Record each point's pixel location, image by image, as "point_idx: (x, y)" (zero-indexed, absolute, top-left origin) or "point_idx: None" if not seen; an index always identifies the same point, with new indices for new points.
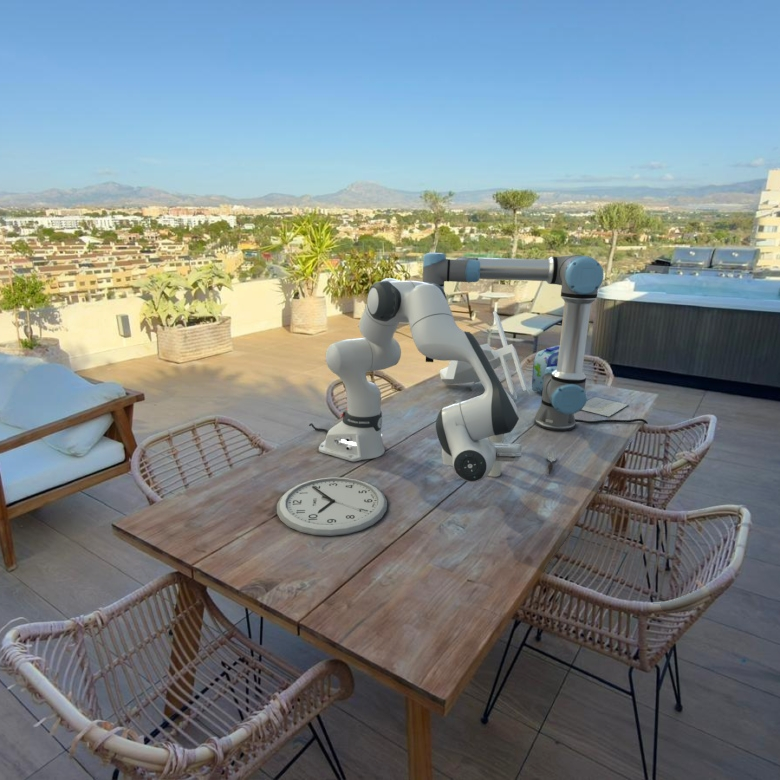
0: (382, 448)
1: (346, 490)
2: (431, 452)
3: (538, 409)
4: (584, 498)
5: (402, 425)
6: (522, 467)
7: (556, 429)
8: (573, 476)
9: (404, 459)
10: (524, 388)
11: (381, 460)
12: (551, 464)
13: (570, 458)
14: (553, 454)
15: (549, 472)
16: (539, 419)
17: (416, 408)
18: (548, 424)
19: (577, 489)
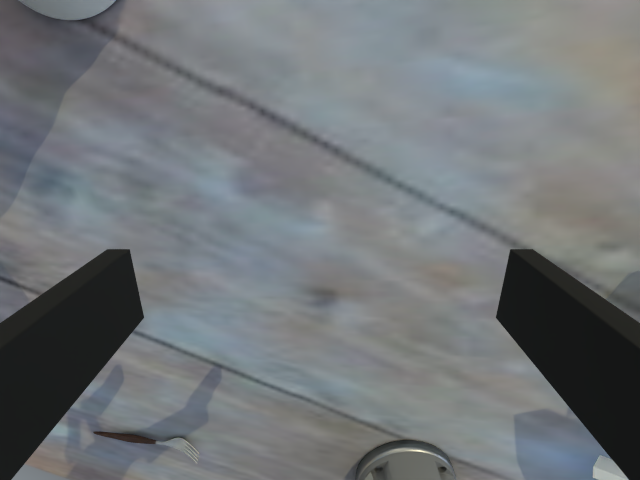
0: (42, 8)
1: None
2: (131, 183)
3: (428, 478)
4: (26, 464)
5: (344, 62)
6: (121, 389)
7: (356, 475)
8: (114, 463)
9: (47, 101)
10: (602, 476)
11: (5, 18)
12: (141, 442)
13: (202, 471)
14: (190, 453)
15: (98, 434)
16: (388, 461)
17: (543, 104)
18: (365, 471)
19: (58, 460)
